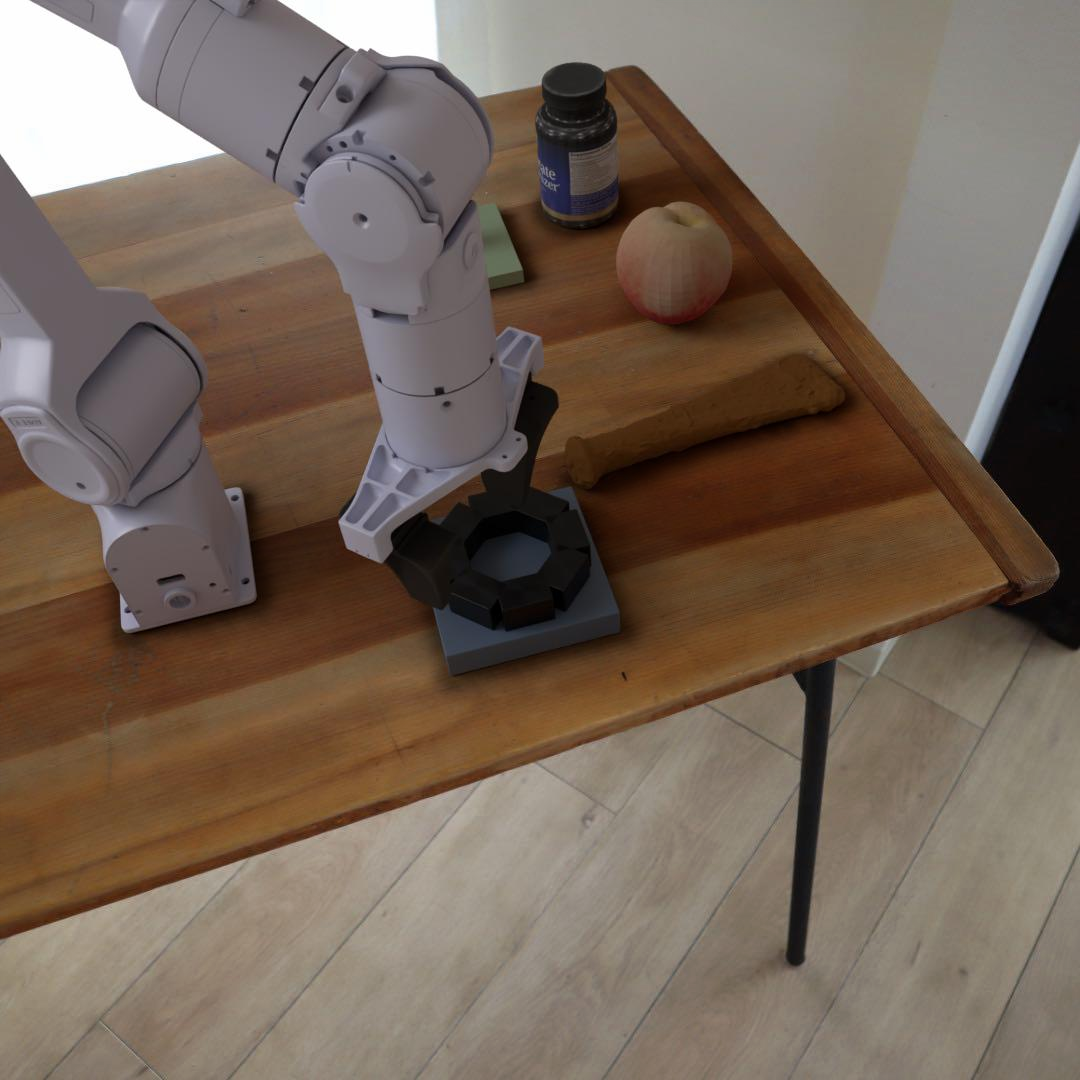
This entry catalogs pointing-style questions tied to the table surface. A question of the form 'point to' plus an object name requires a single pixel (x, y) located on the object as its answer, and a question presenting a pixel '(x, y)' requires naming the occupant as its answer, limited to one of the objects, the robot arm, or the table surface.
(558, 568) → the black segmented ring
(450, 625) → the gray square coaster
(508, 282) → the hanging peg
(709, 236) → the fruit
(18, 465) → the table surface
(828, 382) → the primitive tool
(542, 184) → the pill bottle
